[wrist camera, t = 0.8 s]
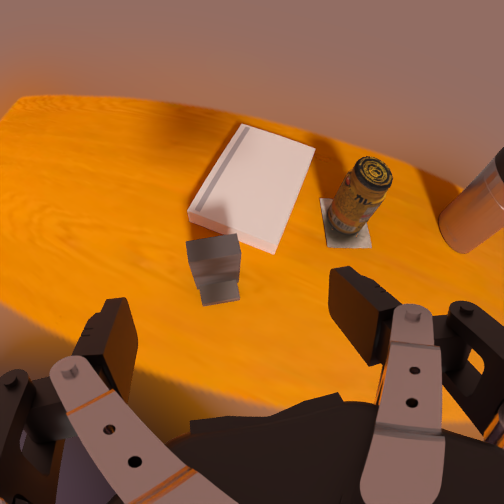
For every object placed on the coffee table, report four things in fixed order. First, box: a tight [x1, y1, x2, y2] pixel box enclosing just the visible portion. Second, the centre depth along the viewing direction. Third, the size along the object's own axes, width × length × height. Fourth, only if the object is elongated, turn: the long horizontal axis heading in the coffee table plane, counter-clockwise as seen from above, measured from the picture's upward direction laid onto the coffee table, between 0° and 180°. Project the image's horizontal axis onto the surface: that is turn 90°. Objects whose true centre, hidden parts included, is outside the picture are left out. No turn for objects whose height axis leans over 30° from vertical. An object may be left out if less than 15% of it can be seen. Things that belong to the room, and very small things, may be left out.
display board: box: [187, 124, 315, 254], centre depth 45 cm, size 19×13×3 cm
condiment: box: [320, 156, 393, 248], centre depth 40 cm, size 7×8×12 cm
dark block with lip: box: [186, 233, 241, 306], centre depth 36 cm, size 6×5×10 cm
